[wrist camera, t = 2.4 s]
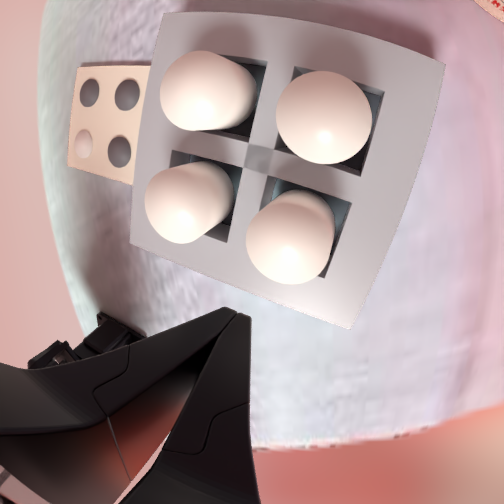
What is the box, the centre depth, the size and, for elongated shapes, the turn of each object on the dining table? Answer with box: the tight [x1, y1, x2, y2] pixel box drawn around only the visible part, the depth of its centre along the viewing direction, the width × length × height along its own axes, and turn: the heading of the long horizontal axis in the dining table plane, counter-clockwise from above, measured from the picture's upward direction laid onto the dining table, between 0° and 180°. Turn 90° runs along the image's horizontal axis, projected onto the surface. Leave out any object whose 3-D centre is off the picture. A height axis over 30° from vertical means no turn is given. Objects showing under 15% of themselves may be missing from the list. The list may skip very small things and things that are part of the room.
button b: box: [144, 161, 234, 244], centre depth 17 cm, size 4×4×3 cm
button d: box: [160, 51, 257, 131], centre depth 14 cm, size 4×4×3 cm
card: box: [67, 66, 151, 186], centre depth 20 cm, size 9×9×1 cm
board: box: [130, 12, 446, 330], centre depth 17 cm, size 16×16×2 cm
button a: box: [246, 190, 336, 285], centre depth 15 cm, size 4×4×3 cm
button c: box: [276, 71, 372, 164], centre depth 13 cm, size 4×4×3 cm
